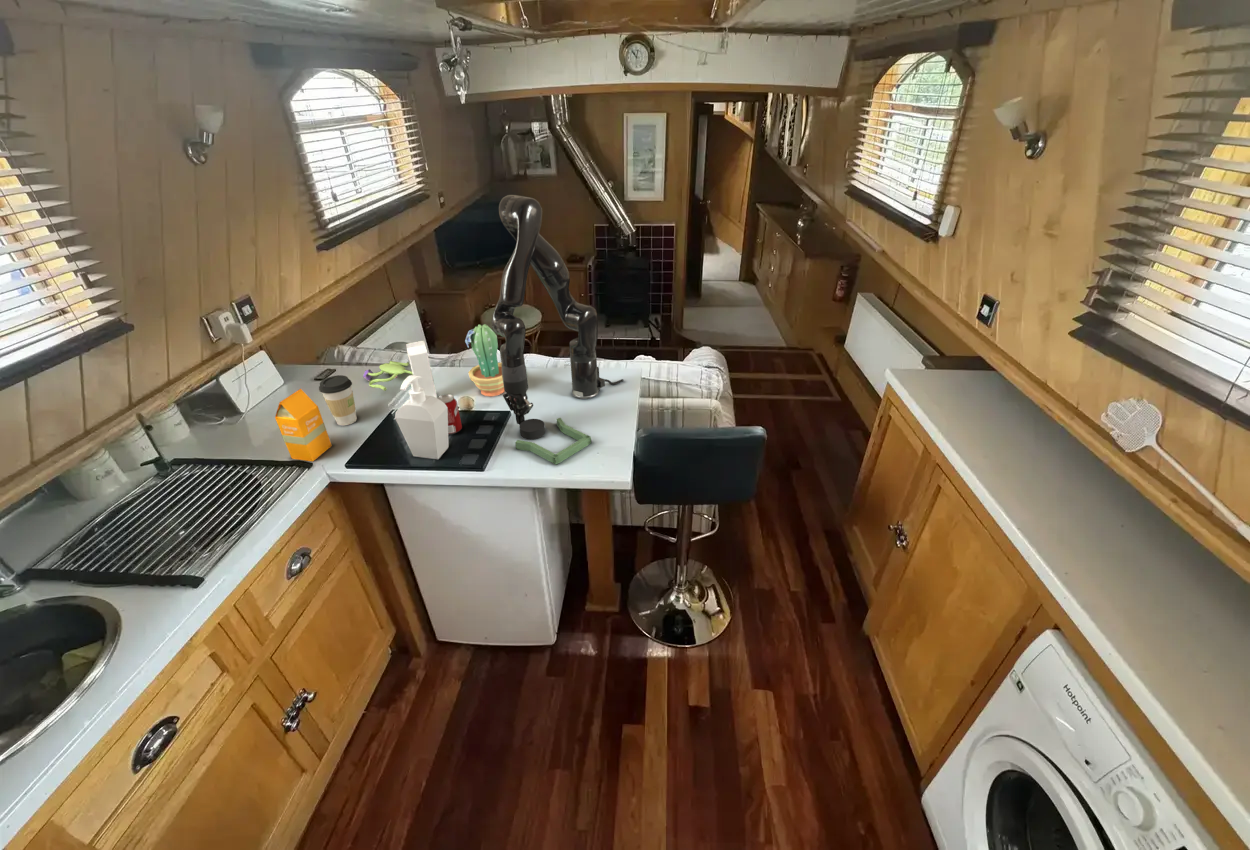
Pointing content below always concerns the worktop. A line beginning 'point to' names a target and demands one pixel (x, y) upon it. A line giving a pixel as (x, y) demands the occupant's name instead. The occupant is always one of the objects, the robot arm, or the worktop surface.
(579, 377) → the robot arm
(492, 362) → the potted cactus
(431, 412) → the soap bottle
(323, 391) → the coffee cup
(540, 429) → the puck
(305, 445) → the orange juice
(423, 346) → the milk
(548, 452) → the frame
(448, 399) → the soda can
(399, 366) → the figurine
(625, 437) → the worktop surface
